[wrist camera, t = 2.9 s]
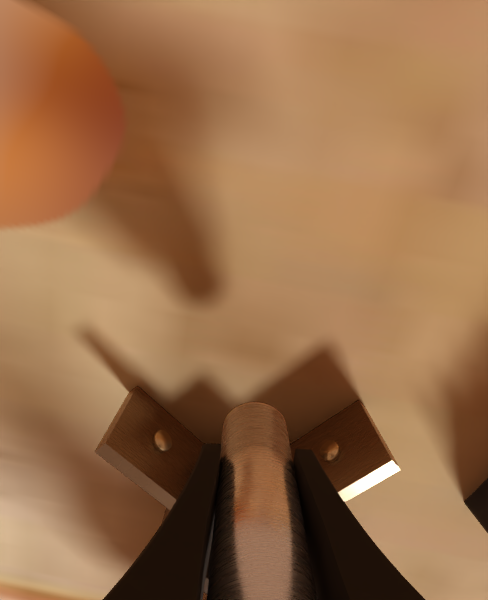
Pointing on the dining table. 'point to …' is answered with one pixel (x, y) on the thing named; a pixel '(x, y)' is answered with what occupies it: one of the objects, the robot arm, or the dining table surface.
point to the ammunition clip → (479, 504)
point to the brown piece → (186, 447)
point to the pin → (258, 513)
